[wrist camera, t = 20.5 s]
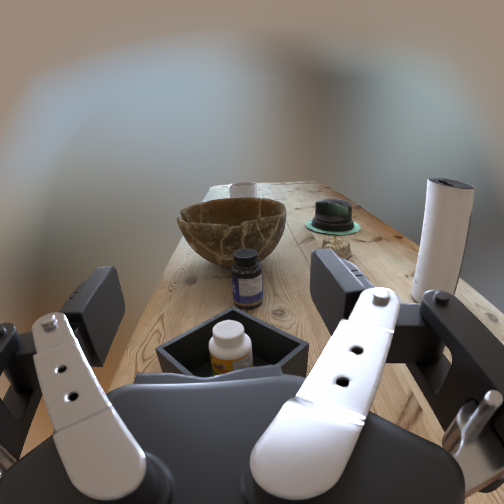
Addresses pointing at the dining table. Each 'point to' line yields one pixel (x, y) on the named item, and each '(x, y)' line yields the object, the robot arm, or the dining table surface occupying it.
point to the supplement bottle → (230, 348)
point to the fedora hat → (333, 217)
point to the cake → (337, 246)
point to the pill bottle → (247, 279)
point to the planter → (243, 189)
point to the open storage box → (262, 339)
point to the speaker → (443, 236)
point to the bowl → (233, 227)
